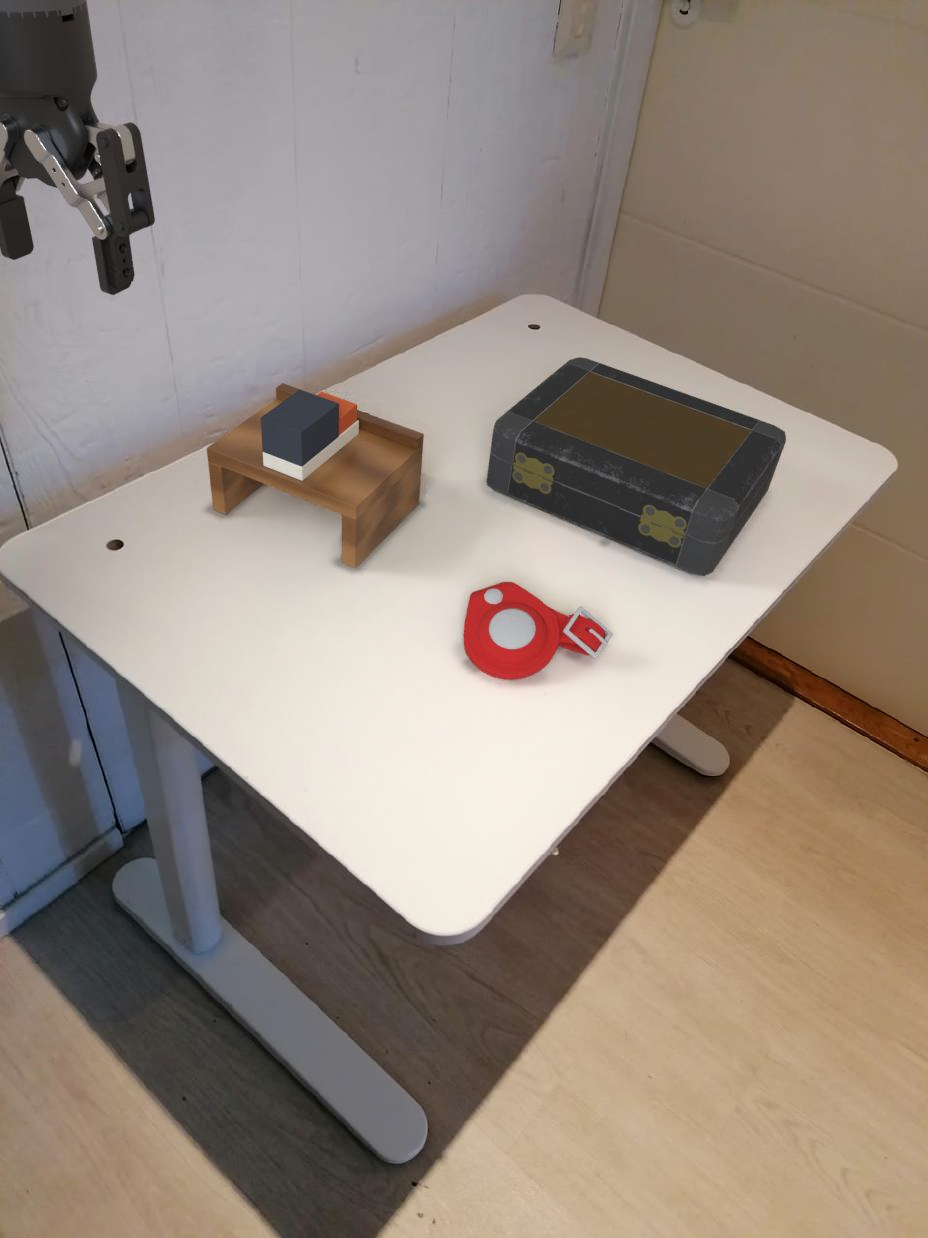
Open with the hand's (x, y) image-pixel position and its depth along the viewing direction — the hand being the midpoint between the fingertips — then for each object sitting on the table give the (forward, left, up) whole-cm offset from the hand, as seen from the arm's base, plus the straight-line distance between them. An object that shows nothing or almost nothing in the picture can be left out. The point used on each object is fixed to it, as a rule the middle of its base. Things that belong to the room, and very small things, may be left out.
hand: (67, 272), depth 65 cm
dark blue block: (+18, -7, -21) cm, 29 cm away
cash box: (+40, -32, -28) cm, 59 cm away
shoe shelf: (+19, -7, -28) cm, 35 cm away
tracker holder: (+12, -33, -28) cm, 45 cm away
